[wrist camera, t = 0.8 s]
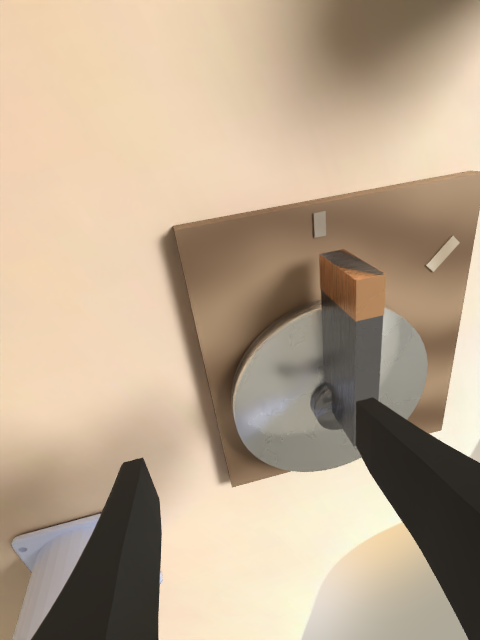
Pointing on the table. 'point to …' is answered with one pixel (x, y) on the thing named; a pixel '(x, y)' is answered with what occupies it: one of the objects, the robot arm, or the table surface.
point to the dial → (326, 370)
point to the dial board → (304, 280)
